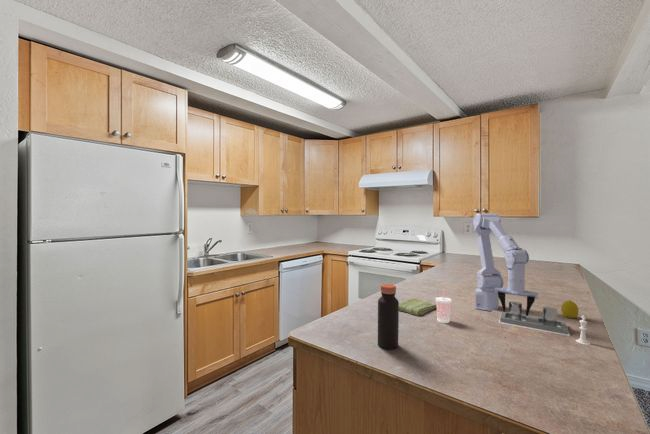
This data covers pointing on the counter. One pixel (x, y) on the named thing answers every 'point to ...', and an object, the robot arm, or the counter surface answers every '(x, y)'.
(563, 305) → the lemon
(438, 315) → the beverage cup
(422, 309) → the washcloth
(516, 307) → the cylinder
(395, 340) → the bottle
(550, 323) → the cylinder
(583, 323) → the chess piece
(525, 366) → the counter surface
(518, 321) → the grey rectangular tray
